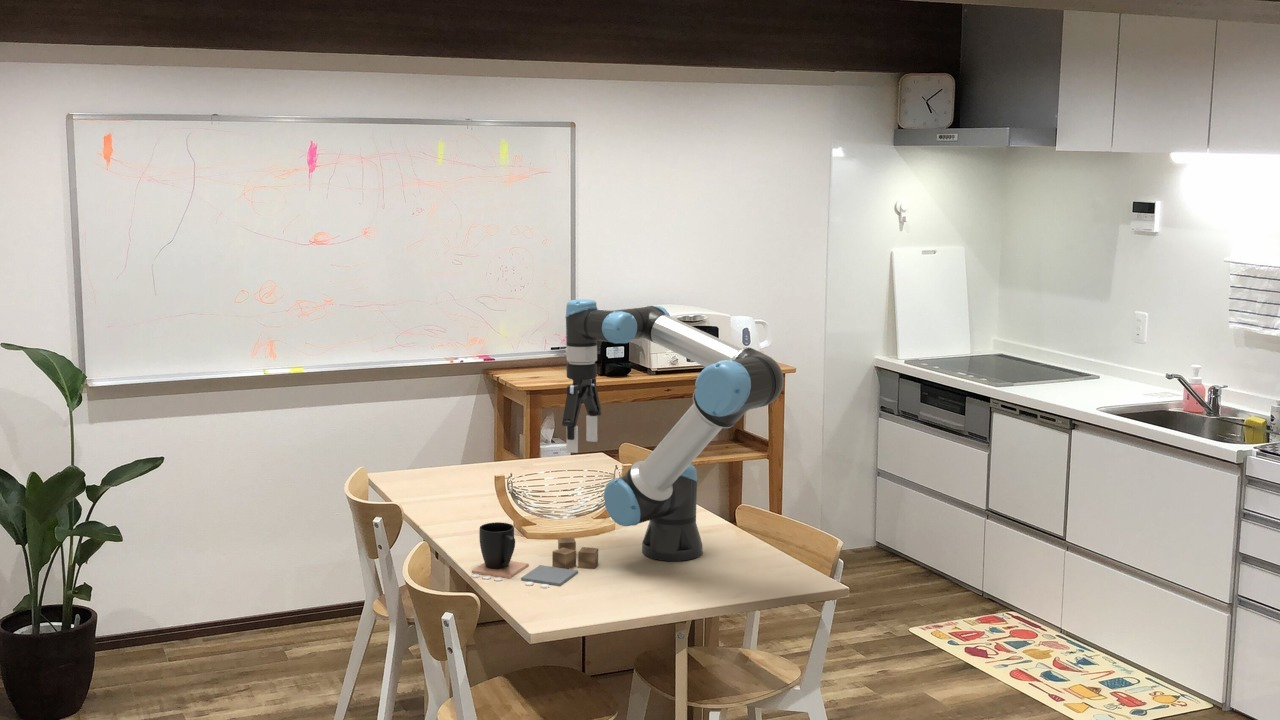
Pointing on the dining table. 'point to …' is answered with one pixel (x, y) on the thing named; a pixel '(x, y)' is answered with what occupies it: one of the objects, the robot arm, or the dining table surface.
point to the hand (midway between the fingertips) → (582, 446)
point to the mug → (497, 544)
